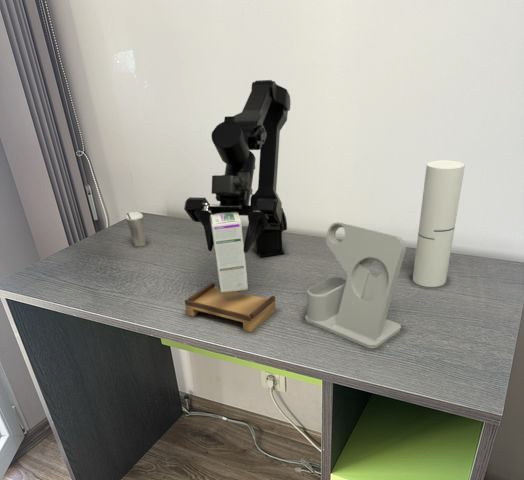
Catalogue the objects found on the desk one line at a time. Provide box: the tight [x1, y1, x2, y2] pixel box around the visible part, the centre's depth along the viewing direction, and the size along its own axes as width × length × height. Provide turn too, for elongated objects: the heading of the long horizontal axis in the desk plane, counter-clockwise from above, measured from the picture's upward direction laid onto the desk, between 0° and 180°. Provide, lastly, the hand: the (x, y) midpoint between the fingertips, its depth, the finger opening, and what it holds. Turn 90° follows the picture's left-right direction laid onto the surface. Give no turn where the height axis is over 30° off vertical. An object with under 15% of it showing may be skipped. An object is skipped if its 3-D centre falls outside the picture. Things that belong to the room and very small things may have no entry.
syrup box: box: [211, 212, 249, 292], centre depth 98 cm, size 6×6×14 cm
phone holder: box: [304, 222, 407, 349], centre depth 92 cm, size 17×10×18 cm, turn 45°
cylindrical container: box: [412, 159, 466, 288], centre depth 104 cm, size 7×7×25 cm
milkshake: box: [125, 211, 147, 248], centre depth 137 cm, size 4×5×10 cm
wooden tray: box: [184, 282, 277, 333], centre depth 102 cm, size 16×10×4 cm, turn 59°
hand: (227, 251), depth 96 cm, fingers closed on syrup box, 7 cm apart
